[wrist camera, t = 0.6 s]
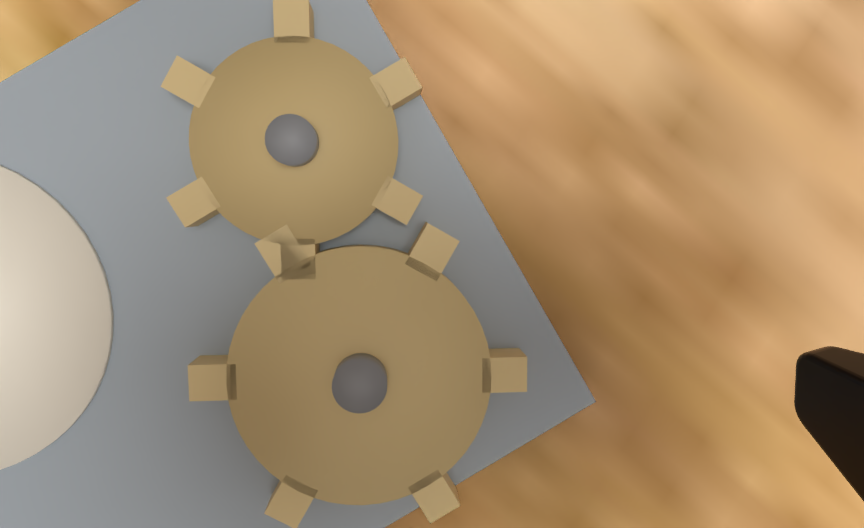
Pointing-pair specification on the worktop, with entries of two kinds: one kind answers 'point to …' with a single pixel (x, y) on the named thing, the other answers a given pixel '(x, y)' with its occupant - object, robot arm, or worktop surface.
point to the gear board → (274, 278)
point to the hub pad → (46, 319)
